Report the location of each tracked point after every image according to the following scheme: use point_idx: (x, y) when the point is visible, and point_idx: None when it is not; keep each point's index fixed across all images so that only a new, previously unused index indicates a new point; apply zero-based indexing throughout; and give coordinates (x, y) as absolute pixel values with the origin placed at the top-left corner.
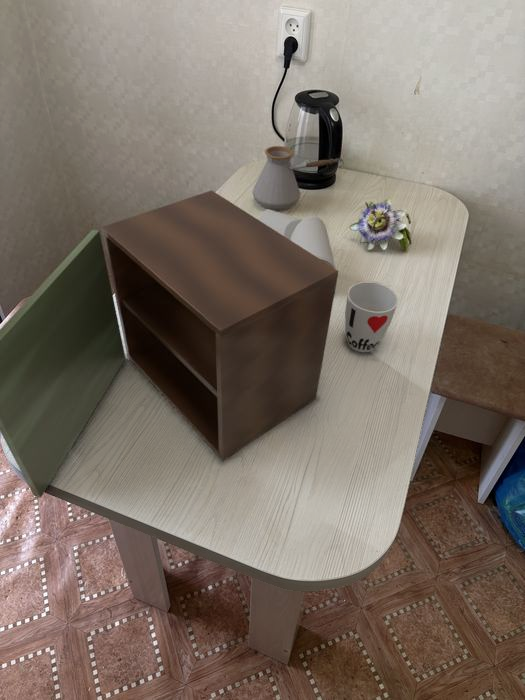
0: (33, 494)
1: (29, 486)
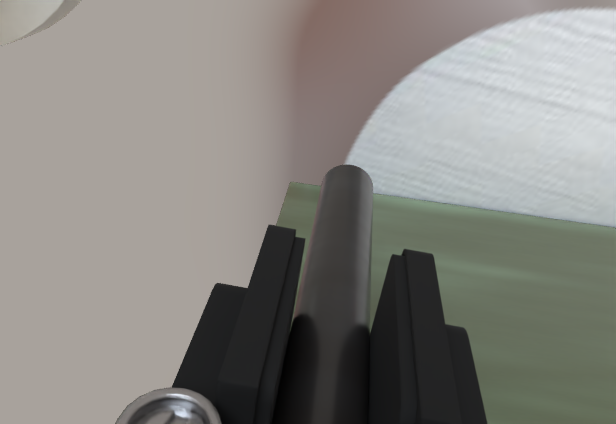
0: (288, 187)
1: (283, 203)
